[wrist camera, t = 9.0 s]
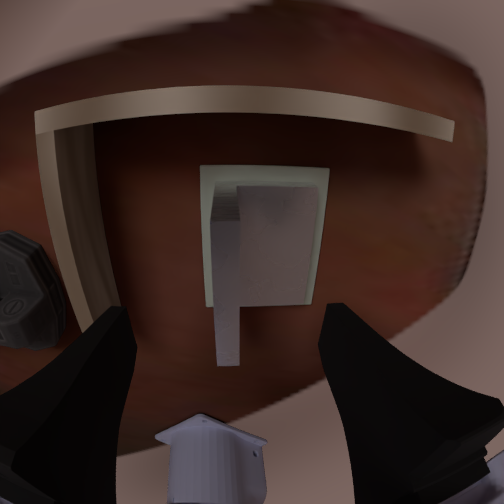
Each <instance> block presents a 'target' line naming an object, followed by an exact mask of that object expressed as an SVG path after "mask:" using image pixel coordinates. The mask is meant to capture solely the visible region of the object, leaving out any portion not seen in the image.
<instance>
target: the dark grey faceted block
mask: <svg viewBox="0 0 504 504" xmlns="http://www.w3.org/2000/svg"><path fill="white" fill-rule="evenodd" d="M65 328H66V301H65V298H64V295H63V292H62V288H61V285H60V281H59V278H58V276H57V274H56V272H55V270H54V269H53V267H52V265H51V263H50V261H49V259H48V258H47V256H46V254H45V252H44V250H43V248H42V246H41V245H40V244H38V243H36V242H34V241H32V240H30V239H28V238H26V237H24V236H22V235H20V234H18V233H17V232H15V231H13V230H9V231H4V232H0V345H3V346H7V347H11V348H16V349H18V348H22V347H26V348H29V349H32V350H35V351H37V350H41V349H45V348H49V347H53V346H56V344H57V342H58V341H59V339H60V337H61V335H62V333H63V331H64V330H65Z"/></svg>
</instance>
